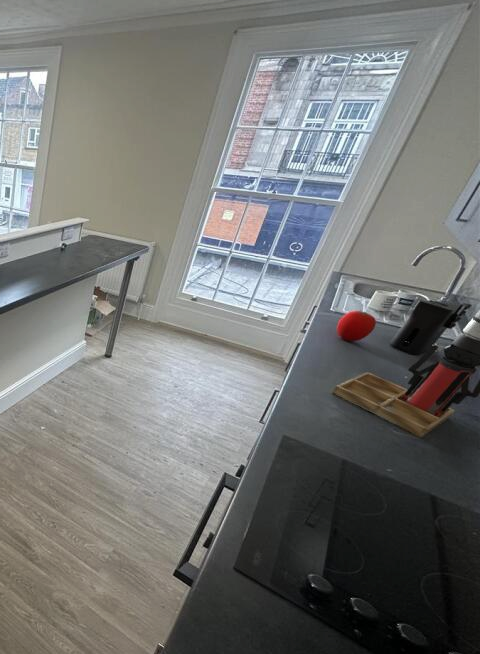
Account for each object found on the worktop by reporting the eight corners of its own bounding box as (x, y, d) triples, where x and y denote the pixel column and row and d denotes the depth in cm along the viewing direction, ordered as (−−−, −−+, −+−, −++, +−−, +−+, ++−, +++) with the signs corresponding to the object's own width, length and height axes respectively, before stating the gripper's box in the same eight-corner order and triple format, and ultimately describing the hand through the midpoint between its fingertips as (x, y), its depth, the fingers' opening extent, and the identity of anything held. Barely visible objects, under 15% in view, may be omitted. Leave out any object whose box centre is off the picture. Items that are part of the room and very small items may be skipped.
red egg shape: (334, 330, 175) (350, 304, 168) (365, 341, 168) (384, 313, 161) (327, 337, 168) (345, 309, 162) (360, 348, 161) (379, 320, 155)
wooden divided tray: (448, 418, 123) (455, 410, 122) (420, 437, 113) (428, 429, 112) (361, 379, 140) (367, 371, 138) (331, 393, 130) (336, 385, 128)
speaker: (414, 415, 122) (456, 365, 112) (395, 400, 128) (434, 352, 119) (442, 419, 121) (487, 370, 112) (422, 404, 127) (463, 356, 118)
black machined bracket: (385, 345, 166) (421, 296, 155) (404, 337, 175) (439, 290, 164) (422, 359, 157) (463, 309, 146) (440, 350, 167) (479, 301, 155)
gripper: (426, 323, 117) (378, 386, 129) (532, 358, 102) (467, 426, 114) (435, 319, 121) (388, 381, 132) (539, 353, 105) (475, 419, 117)
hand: (425, 401), depth 123 cm, fingers open, 8 cm apart
